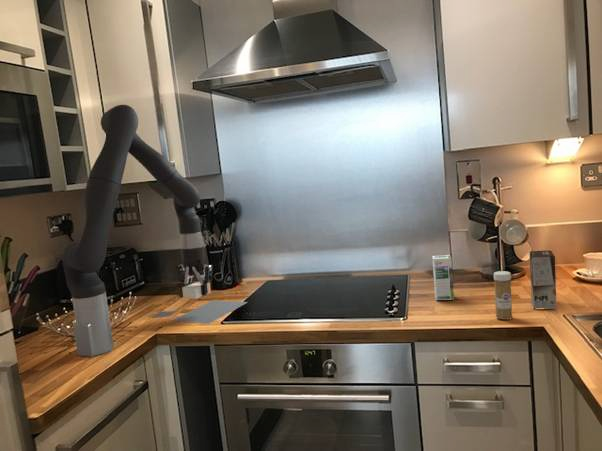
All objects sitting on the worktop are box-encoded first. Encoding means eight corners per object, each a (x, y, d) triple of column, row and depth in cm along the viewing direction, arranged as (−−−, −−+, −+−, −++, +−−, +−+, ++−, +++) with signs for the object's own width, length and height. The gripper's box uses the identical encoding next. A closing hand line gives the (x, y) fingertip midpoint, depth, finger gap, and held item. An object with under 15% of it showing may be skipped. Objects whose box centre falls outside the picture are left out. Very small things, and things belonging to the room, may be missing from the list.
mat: (209, 324, 165) (208, 323, 165) (170, 322, 173) (170, 320, 173) (248, 303, 187) (248, 302, 187) (212, 301, 194) (212, 300, 194)
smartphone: (138, 325, 171) (160, 311, 186) (139, 328, 171) (160, 313, 186) (157, 325, 169) (177, 310, 184) (157, 327, 170) (178, 313, 184)
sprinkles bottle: (502, 321, 143) (500, 275, 141) (492, 317, 147) (490, 272, 145) (516, 319, 144) (514, 272, 142) (505, 314, 148) (504, 269, 147)
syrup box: (436, 301, 167) (433, 258, 165) (434, 296, 173) (432, 255, 171) (454, 301, 166) (451, 257, 164) (452, 296, 172) (449, 254, 170)
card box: (196, 298, 168) (195, 288, 168) (183, 298, 171) (182, 287, 170) (210, 292, 175) (209, 282, 175) (198, 291, 178) (197, 281, 177)
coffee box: (557, 310, 148) (555, 256, 146) (533, 309, 150) (531, 256, 148) (553, 301, 157) (551, 249, 155) (530, 300, 159) (528, 250, 157)
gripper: (168, 248, 171) (173, 296, 173) (202, 247, 164) (207, 298, 166) (182, 244, 178) (187, 291, 180) (215, 243, 171) (221, 292, 173)
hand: (197, 294), depth 173 cm, fingers closed on card box, 5 cm apart
